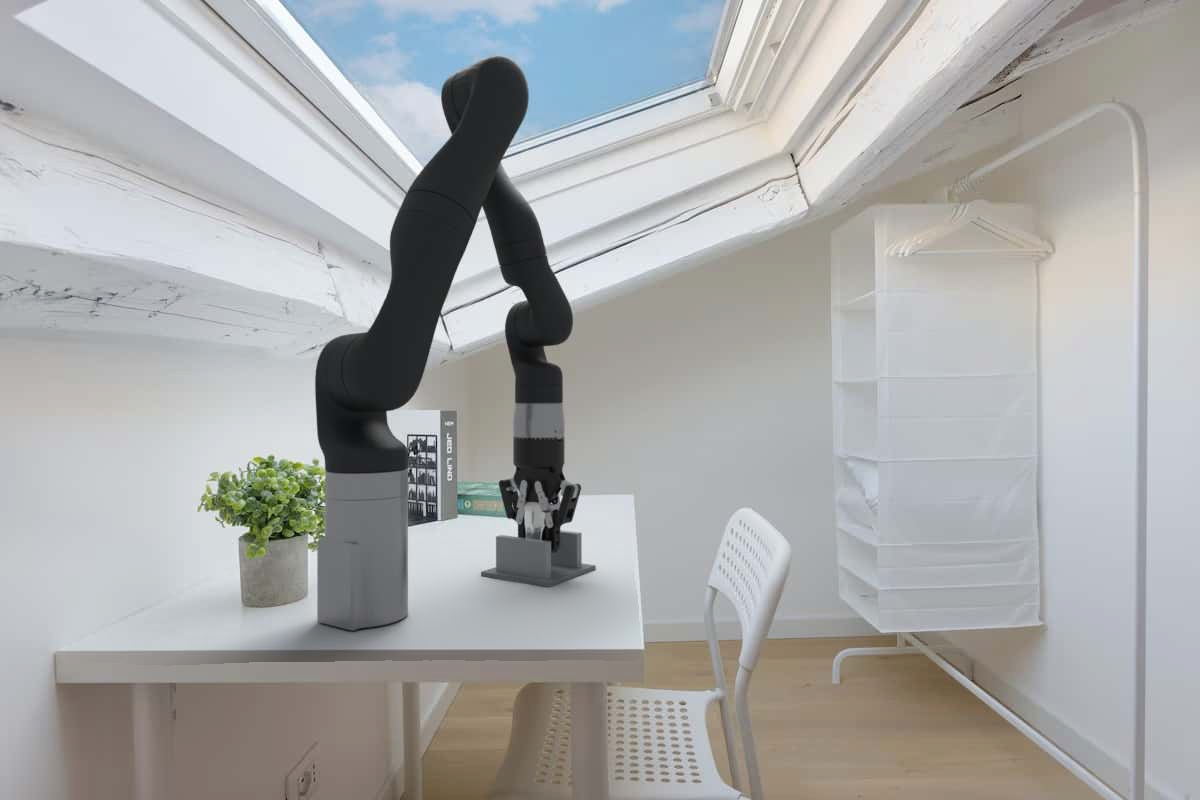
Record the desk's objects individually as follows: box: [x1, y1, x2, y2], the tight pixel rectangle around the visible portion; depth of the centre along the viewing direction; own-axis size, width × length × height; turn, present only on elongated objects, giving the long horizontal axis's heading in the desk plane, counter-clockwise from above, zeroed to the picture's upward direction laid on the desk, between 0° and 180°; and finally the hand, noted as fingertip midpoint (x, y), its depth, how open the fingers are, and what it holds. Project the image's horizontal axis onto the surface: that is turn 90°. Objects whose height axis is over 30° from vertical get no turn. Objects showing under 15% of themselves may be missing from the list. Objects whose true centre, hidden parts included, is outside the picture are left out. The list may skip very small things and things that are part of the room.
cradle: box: [480, 529, 597, 588], centre depth 105 cm, size 12×12×6 cm
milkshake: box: [523, 501, 558, 541], centre depth 105 cm, size 4×5×10 cm
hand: (539, 550), depth 105 cm, fingers closed on milkshake, 4 cm apart
